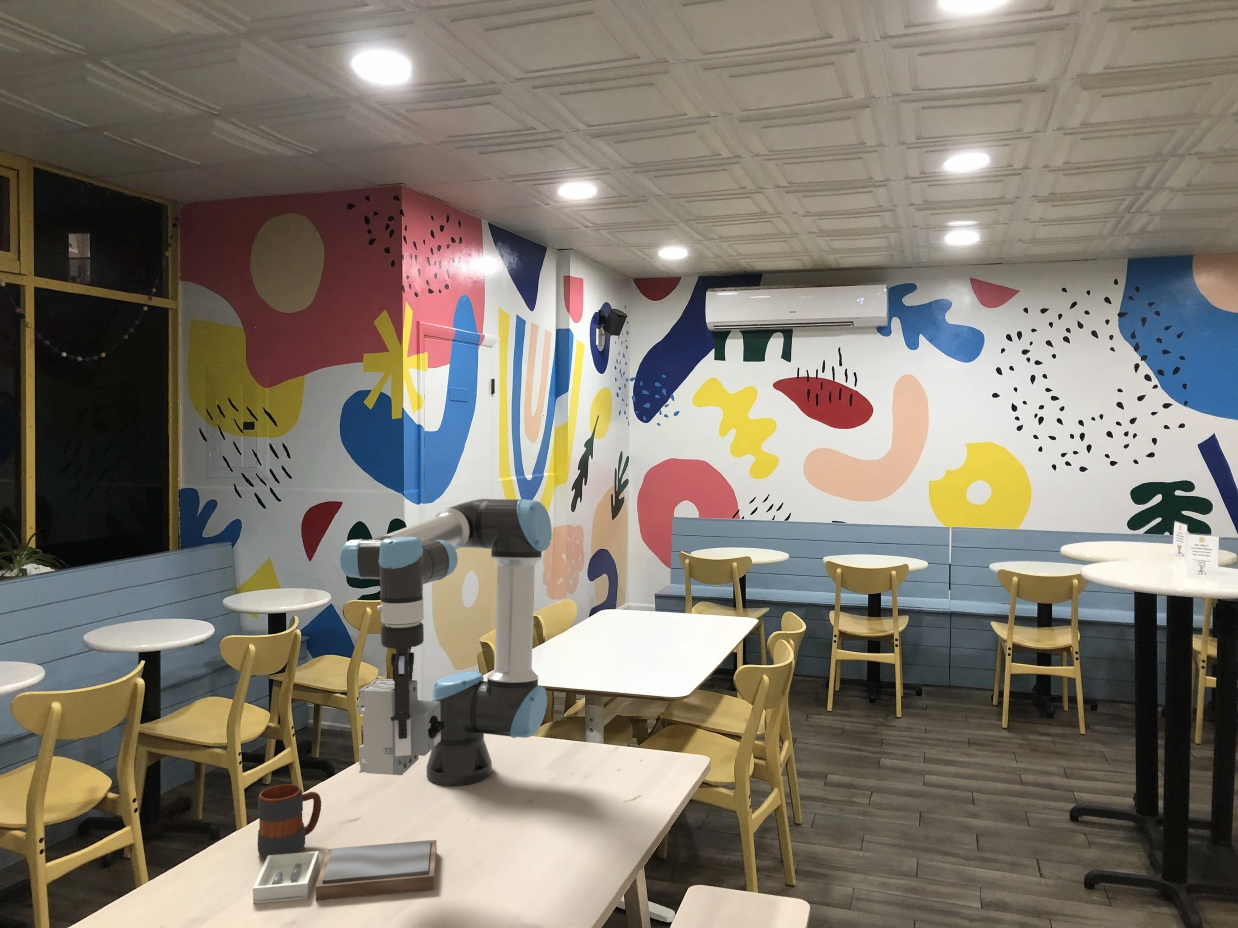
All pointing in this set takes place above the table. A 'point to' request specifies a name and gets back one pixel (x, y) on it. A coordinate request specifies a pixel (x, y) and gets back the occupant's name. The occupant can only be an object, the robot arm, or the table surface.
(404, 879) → the framed panel
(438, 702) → the circuit breaker
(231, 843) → the table surface
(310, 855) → the tray
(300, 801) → the mug
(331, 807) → the table surface
